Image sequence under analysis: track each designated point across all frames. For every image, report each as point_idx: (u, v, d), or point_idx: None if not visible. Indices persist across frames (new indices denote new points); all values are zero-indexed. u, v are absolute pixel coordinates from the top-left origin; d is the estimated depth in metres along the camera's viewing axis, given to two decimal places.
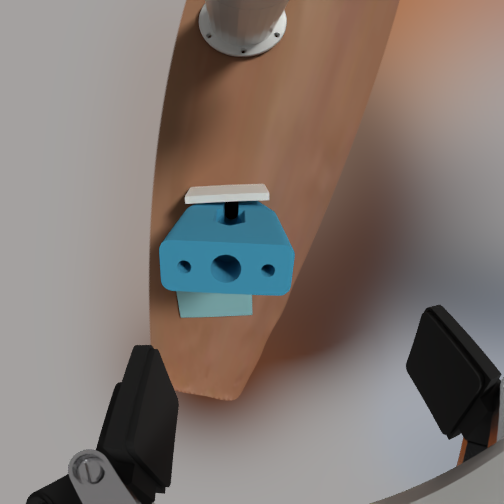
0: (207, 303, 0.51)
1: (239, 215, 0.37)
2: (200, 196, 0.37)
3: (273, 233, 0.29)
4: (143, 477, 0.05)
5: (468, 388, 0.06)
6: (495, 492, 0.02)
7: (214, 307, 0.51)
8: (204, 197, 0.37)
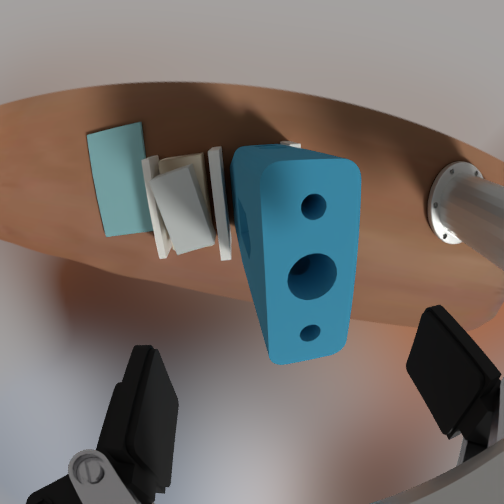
0: (113, 172, 0.30)
1: None
2: None
3: None
4: (143, 477, 0.05)
5: (468, 388, 0.06)
6: (495, 492, 0.02)
7: (109, 183, 0.31)
8: None
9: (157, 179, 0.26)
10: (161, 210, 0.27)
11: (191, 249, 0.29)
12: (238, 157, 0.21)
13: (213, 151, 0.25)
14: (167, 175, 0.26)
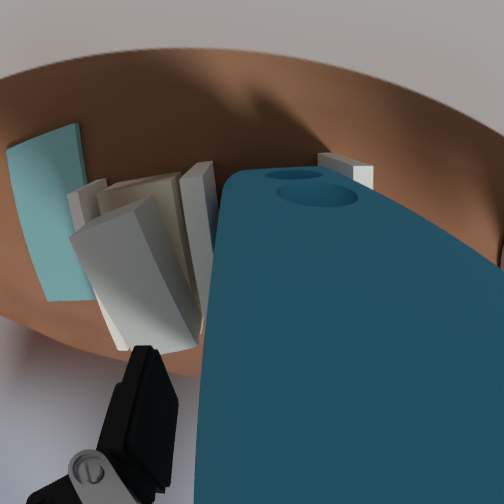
0: (42, 208, 0.17)
1: None
2: None
3: None
4: (143, 477, 0.05)
5: None
6: None
7: (38, 224, 0.17)
8: None
9: (81, 234, 0.12)
10: (97, 290, 0.14)
11: None
12: (219, 214, 0.08)
13: (191, 179, 0.12)
14: (97, 227, 0.12)
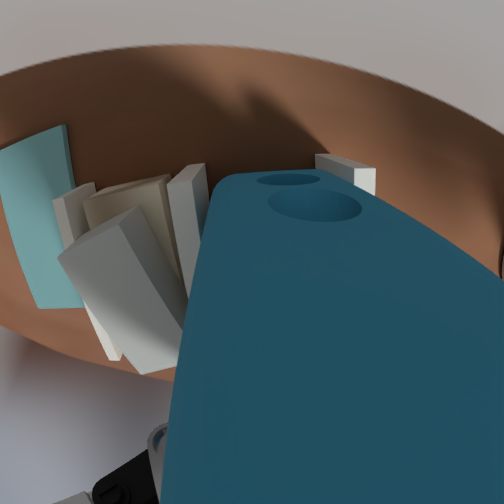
0: (30, 213, 0.16)
1: None
2: None
3: None
4: None
5: None
6: None
7: (27, 230, 0.16)
8: None
9: (69, 253, 0.12)
10: (92, 309, 0.13)
11: (162, 367, 0.15)
12: (204, 226, 0.07)
13: (179, 184, 0.11)
14: (84, 244, 0.11)
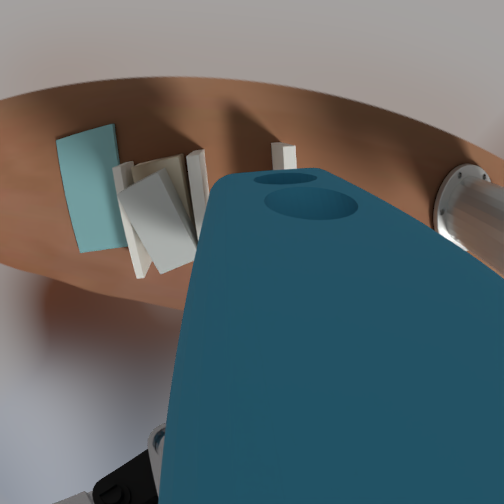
0: (84, 181, 0.26)
1: None
2: None
3: None
4: None
5: None
6: None
7: (80, 193, 0.26)
8: None
9: (125, 191, 0.22)
10: (135, 226, 0.23)
11: (175, 266, 0.25)
12: None
13: (192, 156, 0.21)
14: (136, 185, 0.22)
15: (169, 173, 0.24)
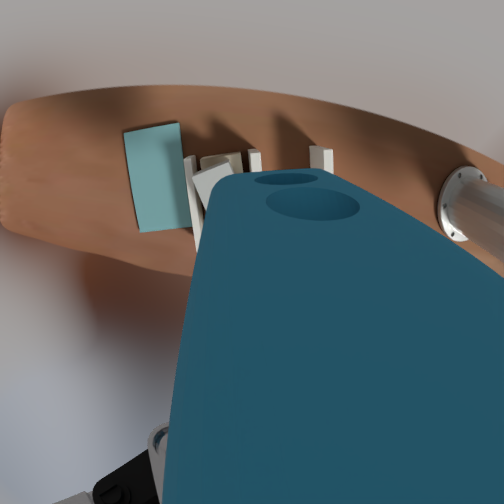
0: (150, 170, 0.33)
1: None
2: (332, 169, 0.29)
3: None
4: None
5: None
6: None
7: (145, 180, 0.33)
8: None
9: (199, 175, 0.28)
10: (204, 204, 0.30)
11: None
12: None
13: (255, 153, 0.28)
14: (209, 170, 0.28)
15: (232, 166, 0.31)
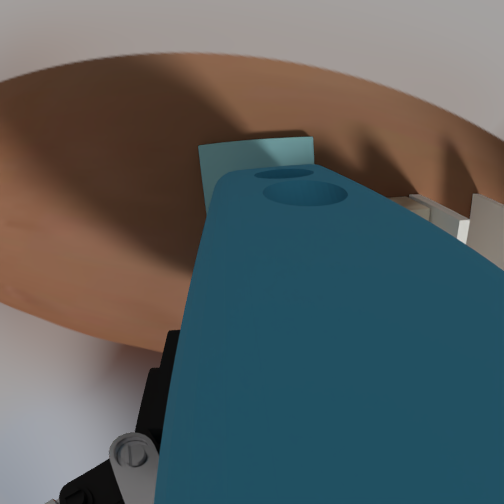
0: None
1: None
2: None
3: None
4: None
5: None
6: None
7: None
8: None
9: None
10: None
11: None
12: None
13: (464, 221, 0.14)
14: None
15: None
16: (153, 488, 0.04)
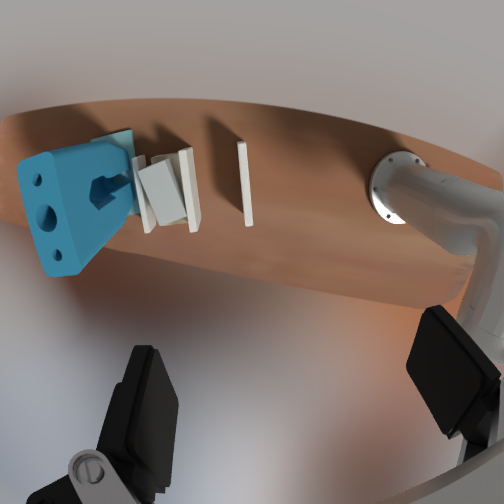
0: None
1: (110, 194, 0.34)
2: (246, 159, 0.36)
3: (92, 244, 0.27)
4: (143, 477, 0.05)
5: (468, 388, 0.06)
6: (495, 492, 0.02)
7: None
8: (245, 163, 0.36)
9: (143, 170, 0.35)
10: (147, 192, 0.36)
11: (170, 221, 0.38)
12: None
13: (182, 151, 0.35)
14: (150, 166, 0.35)
15: (175, 163, 0.38)
16: (114, 502, 0.04)
